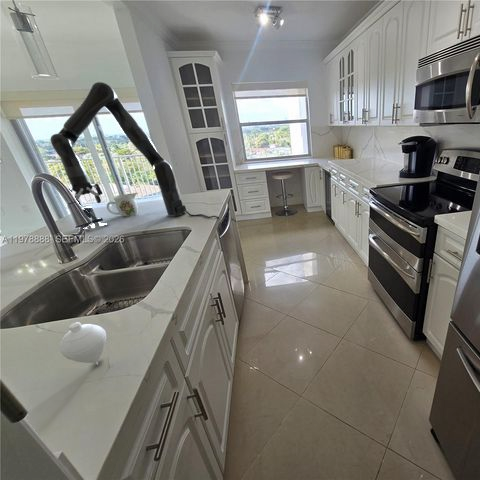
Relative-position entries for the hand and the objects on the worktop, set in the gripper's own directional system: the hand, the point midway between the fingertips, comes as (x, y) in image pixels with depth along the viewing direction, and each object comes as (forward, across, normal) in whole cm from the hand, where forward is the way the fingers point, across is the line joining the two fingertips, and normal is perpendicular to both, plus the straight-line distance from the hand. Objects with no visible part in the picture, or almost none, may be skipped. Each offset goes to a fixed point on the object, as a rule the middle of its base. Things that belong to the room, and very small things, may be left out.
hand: (90, 204), depth 140 cm
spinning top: (+15, -47, -109) cm, 120 cm away
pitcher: (+15, +20, +10) cm, 27 cm away
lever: (+8, 0, +5) cm, 9 cm away
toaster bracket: (+14, 0, +9) cm, 17 cm away
